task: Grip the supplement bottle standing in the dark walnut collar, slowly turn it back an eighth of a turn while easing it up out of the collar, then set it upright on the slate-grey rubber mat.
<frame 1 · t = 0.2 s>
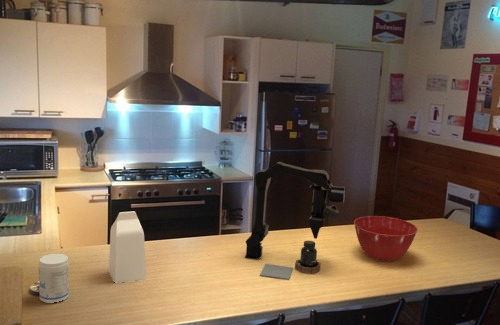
hand: (316, 235, 205), 14 cm above the counter, tool pointing down, fingers open, 9 cm apart
mixing bowl: (381, 256, 223), on the counter
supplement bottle: (307, 269, 204), resting in walnut collar
supplement tub: (54, 298, 168), on the counter
rubber mat: (276, 272, 199), on the counter
walnut collar: (307, 268, 204), on the counter
milk: (127, 276, 189), on the counter
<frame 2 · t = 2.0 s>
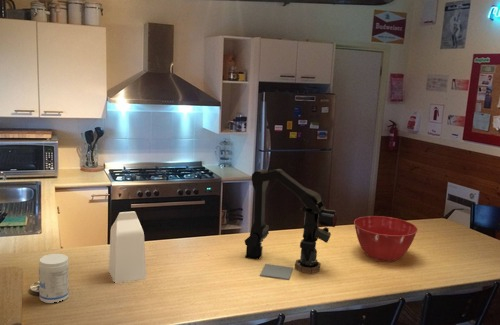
hand: (308, 257, 203), 5 cm above the counter, tool pointing down, fingers closed on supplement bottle, 7 cm apart
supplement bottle: (307, 269, 204), resting in walnut collar, touching gripper
everything else where it was.
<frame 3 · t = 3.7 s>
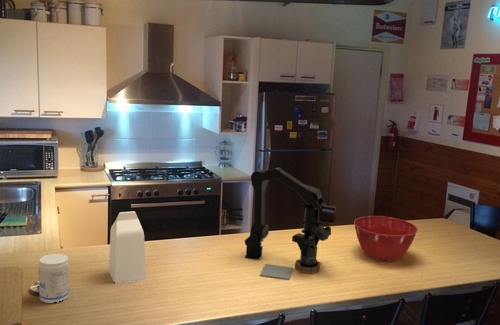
hand: (308, 254, 203), 7 cm above the counter, tool pointing down, fingers closed on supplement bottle, 7 cm apart
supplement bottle: (307, 265, 204), point 1 cm above the counter, touching gripper
everything else where it was.
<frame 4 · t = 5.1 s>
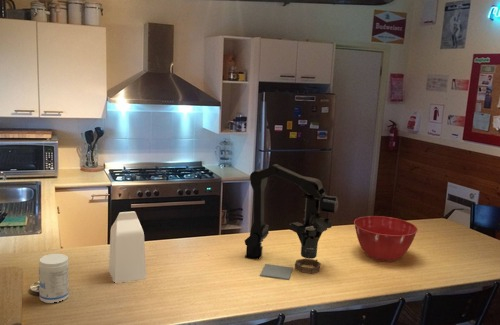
hand: (309, 244, 202), 11 cm above the counter, tool pointing down, fingers closed on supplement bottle, 7 cm apart
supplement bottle: (308, 256, 203), point 6 cm above the counter, touching gripper
everything else where it was.
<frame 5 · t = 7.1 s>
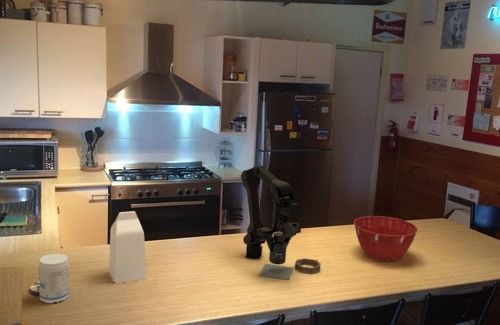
hand: (277, 250, 197), 10 cm above the counter, tool pointing down, fingers closed on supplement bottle, 7 cm apart
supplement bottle: (277, 262, 198), point 4 cm above the counter, touching gripper
everything else where it was.
when the fingers open (7 cm above the counter, at t = 8.5 s): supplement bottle drops 1 cm, resting on rubber mat.
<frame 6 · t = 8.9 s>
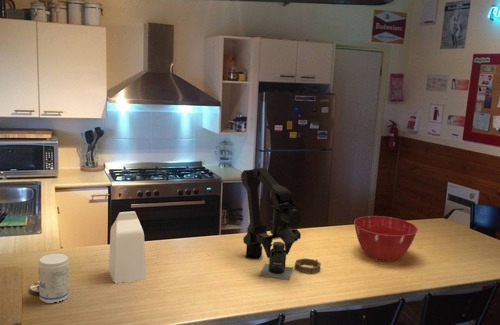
hand: (277, 256, 198), 7 cm above the counter, tool pointing down, fingers open, 9 cm apart
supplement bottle: (276, 271, 199), resting on rubber mat
everything else where it was.
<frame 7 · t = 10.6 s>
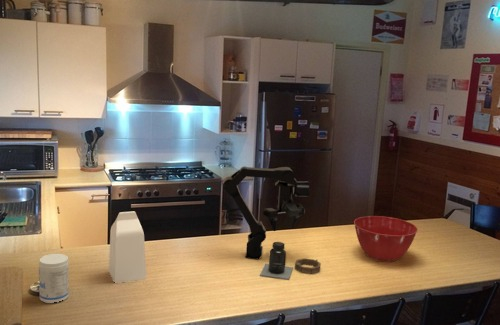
hand: (283, 229, 213), 13 cm above the counter, tool pointing down, fingers open, 9 cm apart
nothing on the counter moved.
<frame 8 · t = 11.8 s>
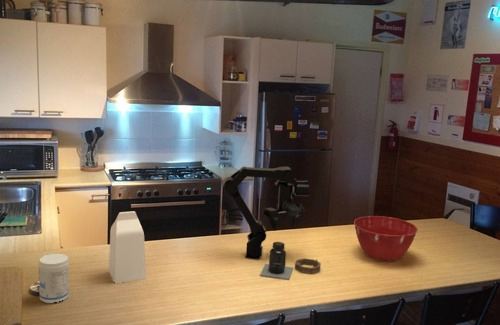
hand: (282, 229, 214), 13 cm above the counter, tool pointing down, fingers open, 9 cm apart
nothing on the counter moved.
at the end: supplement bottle inside the target area (0.1 cm from its centre), resting on rubber mat; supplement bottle tilted 0°; the gripper is holding nothing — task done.
